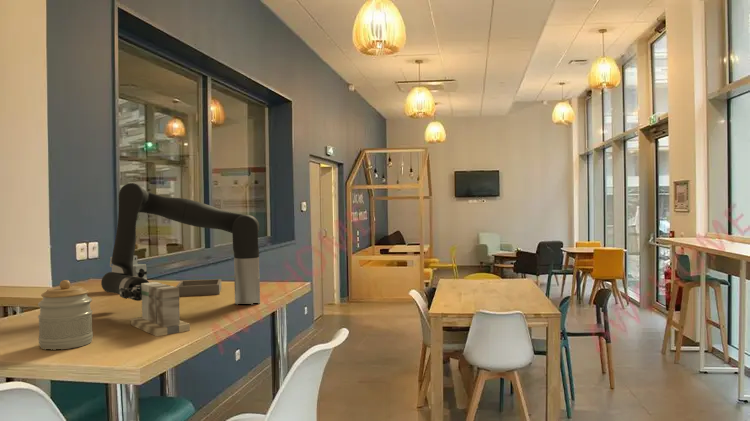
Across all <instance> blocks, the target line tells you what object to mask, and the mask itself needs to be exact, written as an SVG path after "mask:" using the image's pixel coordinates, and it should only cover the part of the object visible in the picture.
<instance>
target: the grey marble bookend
mask: <svg viewBox="0 0 750 421" xmlns="http://www.w3.org/2000/svg"><path fill="white" fill-rule="evenodd" d="M180 313H181V312H180V296H179V288H178V287H176V286H173V285H169V284H165V283H162V284H160V285H151V286H149V321H148V320H145V319H143V318H142V316H140V317H133V318H130V326H132V327H135V328H137V329H139V330H141V331H143V332H146V333H148V334H150V335H152V336H155V337H161V336H165V335H167V336H168V335H171V334H177V333H183V332H184V333H185V332H189V331H190V330H191V328H190V327H191V324H190V323H189V322H186V321H183V320H180V318H181V317H180V315H181V314H180Z"/></svg>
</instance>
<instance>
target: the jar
mask: <svg viewBox="0 0 750 421" xmlns="http://www.w3.org/2000/svg"><path fill="white" fill-rule="evenodd" d="M88 293H89V290H88V289H86V288H84V287H83V286H78V285H77V286H76V285H75V286H74V285H72V286H71V282H70V281H69V279H64V280H61V281H60V283H59V287H58V286H57V287H52V288H48V289H46V290H45V291H44V292H43V293H41V295H40V296H41V297H42V299H41V300H40V301H39V302H38V303H37V306H38V307H39V314H38V315H37V318H38V331H39V332H38V334H39V336H38V345H39V348H40V347H41V348H40V349H42V348H43V349H42V350H46V349H51V350H50V351H57V350H56V349H61V350H67V349H69V350H70V349H74V348H80V347H84V346H87V345H89V344H90V343H92V342H93V337H94V332H93V309H91V302H92V301H93V298H92V297H90V296H88ZM52 349H53V350H52Z"/></svg>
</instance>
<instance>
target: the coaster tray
mask: <svg viewBox="0 0 750 421" xmlns="http://www.w3.org/2000/svg"><path fill="white" fill-rule="evenodd" d="M175 287H178V288H179V297H188V296H189V297H193V296H194V297H195V296H212V295H216V296H217V295H220V292H222V278H213V279H195V280H193V279H191V280H188V279H187V280H180V282H178V283H177V285H176V286H175Z"/></svg>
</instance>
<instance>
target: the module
mask: <svg viewBox="0 0 750 421" xmlns="http://www.w3.org/2000/svg"><path fill="white" fill-rule="evenodd" d="M160 284H163V283H162V282H157V281H152V282H150V281H149V283H141V286H142V290H141V294H142V300H141V317H142V318H143V319H145V320H148V321H149V286H151V285H160Z"/></svg>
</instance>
